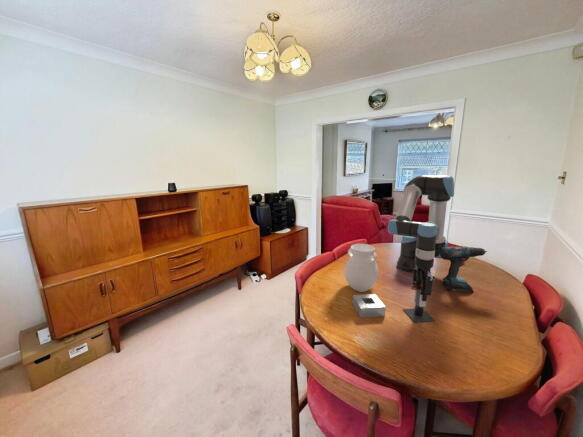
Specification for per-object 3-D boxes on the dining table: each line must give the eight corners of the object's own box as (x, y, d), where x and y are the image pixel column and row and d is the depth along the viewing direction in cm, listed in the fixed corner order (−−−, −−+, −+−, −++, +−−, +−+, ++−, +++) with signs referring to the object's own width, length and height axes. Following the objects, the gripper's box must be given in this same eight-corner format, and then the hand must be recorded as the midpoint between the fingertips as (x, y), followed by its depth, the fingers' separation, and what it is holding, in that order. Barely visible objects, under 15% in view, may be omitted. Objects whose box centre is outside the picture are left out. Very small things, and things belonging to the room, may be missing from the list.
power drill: (485, 293, 136) (492, 250, 130) (439, 290, 140) (444, 248, 135) (476, 285, 144) (483, 244, 139) (433, 282, 149) (438, 243, 143)
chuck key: (425, 310, 120) (428, 283, 117) (429, 315, 117) (433, 287, 114) (407, 311, 120) (409, 284, 116) (411, 316, 116) (414, 288, 113)
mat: (402, 309, 123) (403, 309, 123) (422, 308, 124) (422, 307, 124) (414, 322, 113) (414, 321, 113) (435, 321, 114) (435, 320, 114)
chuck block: (352, 303, 129) (352, 295, 128) (374, 302, 130) (375, 293, 129) (360, 317, 117) (360, 308, 116) (385, 316, 118) (385, 306, 117)
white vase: (382, 286, 146) (385, 246, 140) (368, 299, 133) (370, 255, 127) (354, 277, 158) (355, 239, 152) (338, 288, 145) (339, 247, 139)
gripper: (406, 251, 119) (402, 295, 125) (427, 265, 103) (422, 314, 109) (421, 250, 120) (417, 294, 125) (444, 264, 104) (438, 313, 109)
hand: (419, 303), depth 117 cm, fingers closed on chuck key, 3 cm apart
